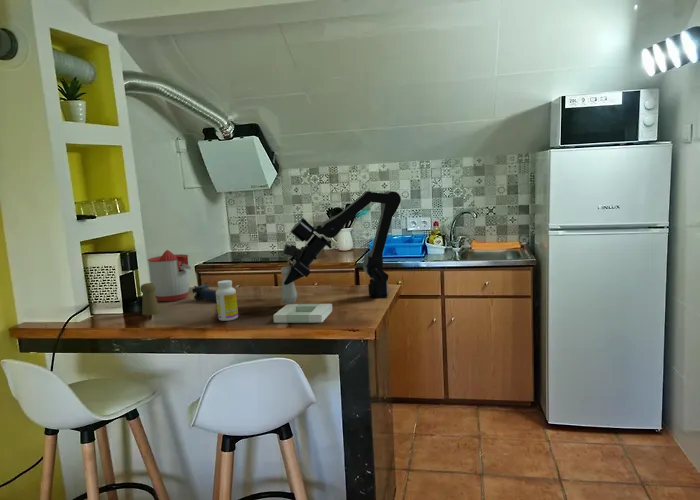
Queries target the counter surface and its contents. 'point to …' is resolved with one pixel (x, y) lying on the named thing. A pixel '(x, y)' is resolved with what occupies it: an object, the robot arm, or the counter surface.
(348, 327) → the counter surface
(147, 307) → the cork
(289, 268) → the grey pestle
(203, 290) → the dark blue irregular lump
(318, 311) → the square frame holder
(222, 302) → the supplement bottle
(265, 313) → the counter surface
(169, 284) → the citrus juicer
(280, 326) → the counter surface
